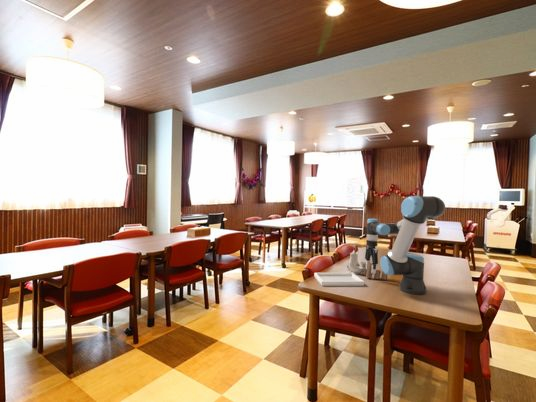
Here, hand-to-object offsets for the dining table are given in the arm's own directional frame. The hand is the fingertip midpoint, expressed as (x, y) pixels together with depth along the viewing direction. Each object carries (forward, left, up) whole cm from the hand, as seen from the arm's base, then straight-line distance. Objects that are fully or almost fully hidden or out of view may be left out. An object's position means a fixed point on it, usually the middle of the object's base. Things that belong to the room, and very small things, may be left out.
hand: (370, 271), depth 196 cm
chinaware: (+21, +1, -6) cm, 22 cm away
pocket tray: (-6, +26, -5) cm, 27 cm away
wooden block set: (0, -2, -5) cm, 6 cm away
